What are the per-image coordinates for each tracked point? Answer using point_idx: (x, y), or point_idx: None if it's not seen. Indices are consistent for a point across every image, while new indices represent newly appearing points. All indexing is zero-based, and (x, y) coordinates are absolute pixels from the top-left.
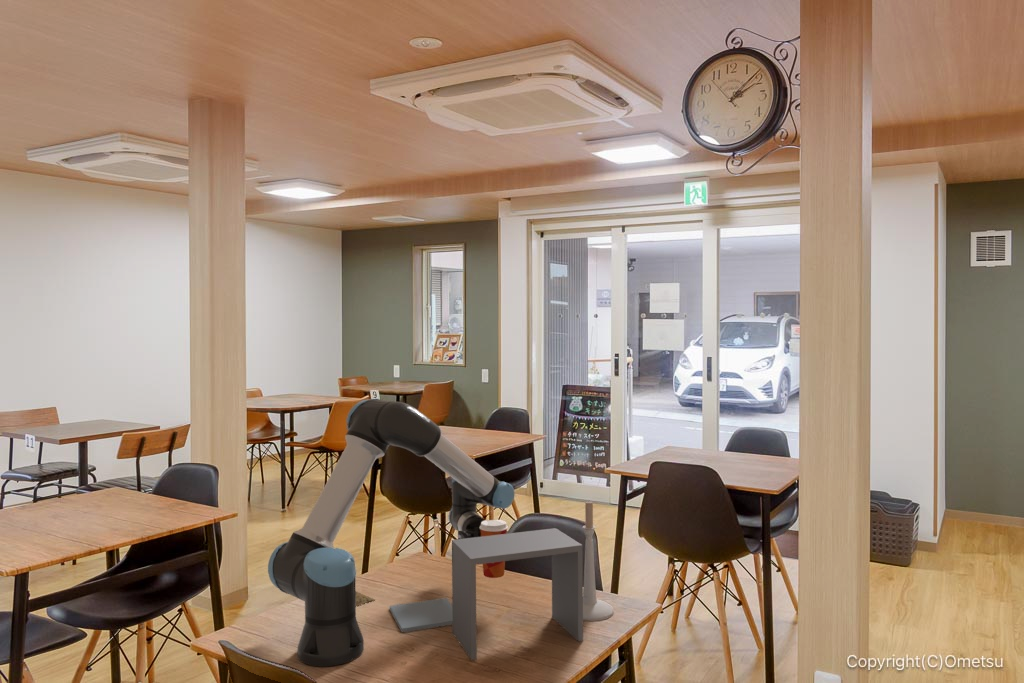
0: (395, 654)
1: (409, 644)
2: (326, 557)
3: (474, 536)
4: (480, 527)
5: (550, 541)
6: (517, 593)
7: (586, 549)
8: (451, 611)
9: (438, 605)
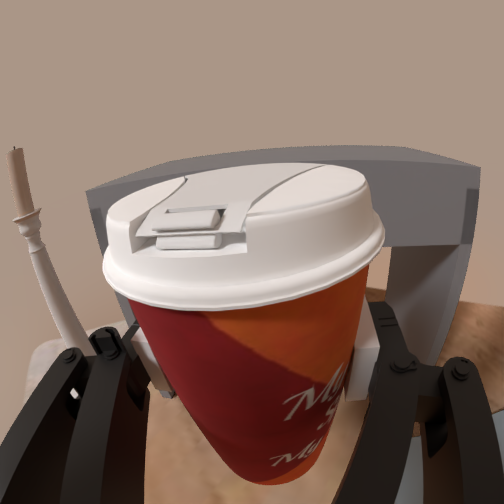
0: (497, 342)
1: (487, 368)
2: None
3: (394, 469)
4: (374, 218)
5: (199, 159)
6: None
7: (50, 265)
8: (410, 493)
9: None
